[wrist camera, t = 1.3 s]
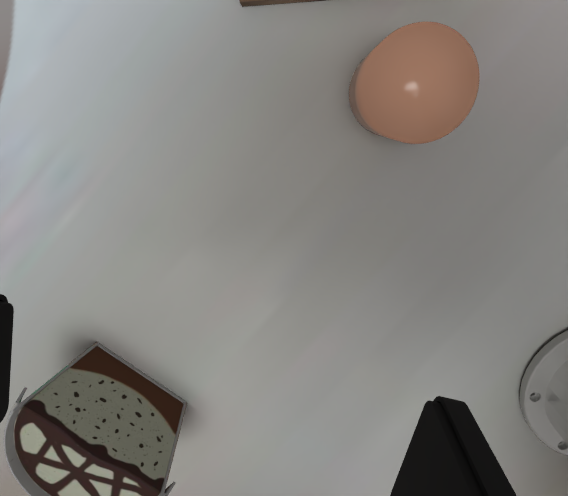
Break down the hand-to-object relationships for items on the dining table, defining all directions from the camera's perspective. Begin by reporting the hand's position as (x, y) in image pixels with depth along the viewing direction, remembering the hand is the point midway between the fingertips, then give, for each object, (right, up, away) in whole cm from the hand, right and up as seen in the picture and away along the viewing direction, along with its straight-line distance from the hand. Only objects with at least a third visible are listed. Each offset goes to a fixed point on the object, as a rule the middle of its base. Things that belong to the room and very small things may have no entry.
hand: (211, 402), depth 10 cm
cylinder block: (+9, +14, +21) cm, 27 cm away
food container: (-12, -10, +30) cm, 34 cm away
